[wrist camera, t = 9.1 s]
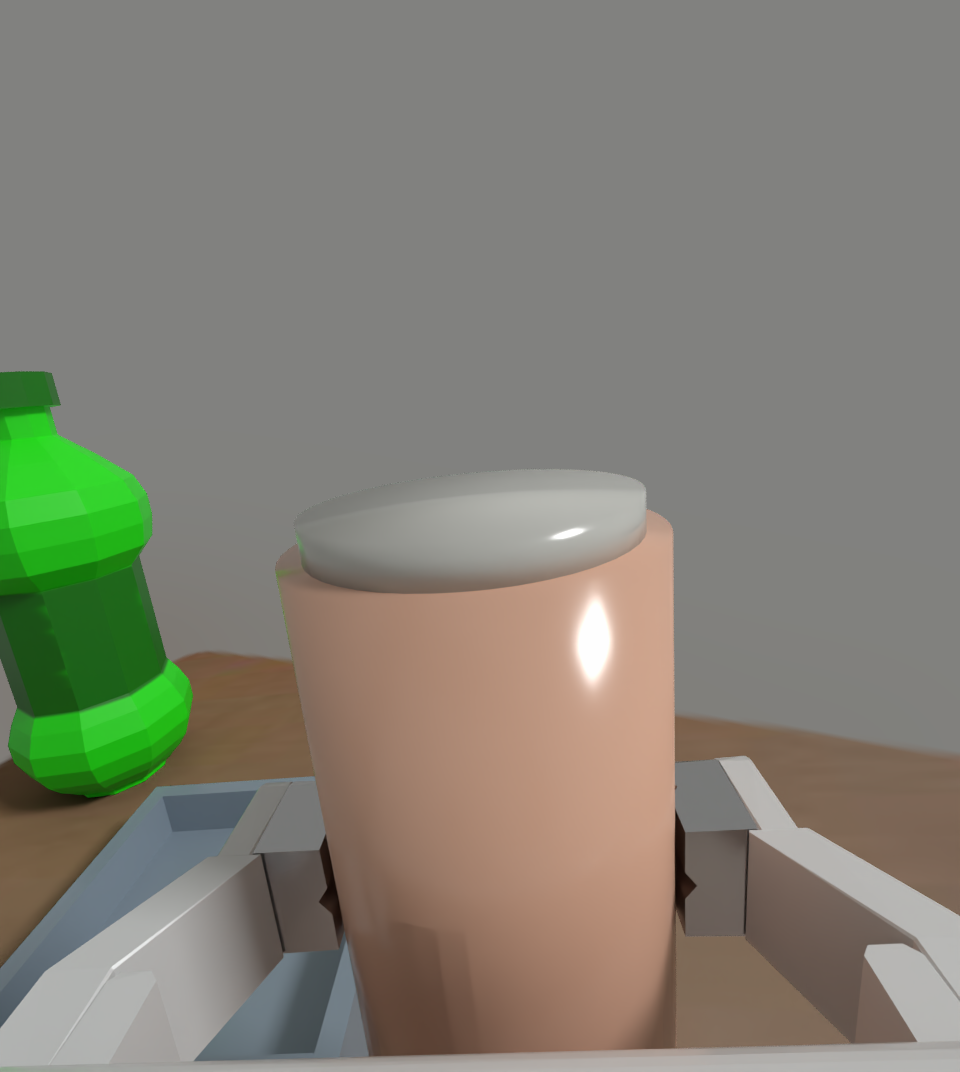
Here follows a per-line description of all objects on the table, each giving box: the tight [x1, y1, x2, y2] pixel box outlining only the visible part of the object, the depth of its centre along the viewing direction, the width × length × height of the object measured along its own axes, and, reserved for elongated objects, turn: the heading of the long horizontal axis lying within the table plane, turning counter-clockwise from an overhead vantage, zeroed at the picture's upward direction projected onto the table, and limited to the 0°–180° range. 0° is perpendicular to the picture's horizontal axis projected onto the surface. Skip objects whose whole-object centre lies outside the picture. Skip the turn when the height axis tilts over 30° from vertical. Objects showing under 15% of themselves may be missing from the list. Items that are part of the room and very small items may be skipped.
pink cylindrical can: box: [275, 469, 677, 1057], centre depth 9 cm, size 5×5×12 cm
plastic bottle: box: [0, 372, 193, 798], centre depth 34 cm, size 10×10×25 cm
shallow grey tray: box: [0, 776, 369, 1061], centre depth 23 cm, size 14×14×3 cm
